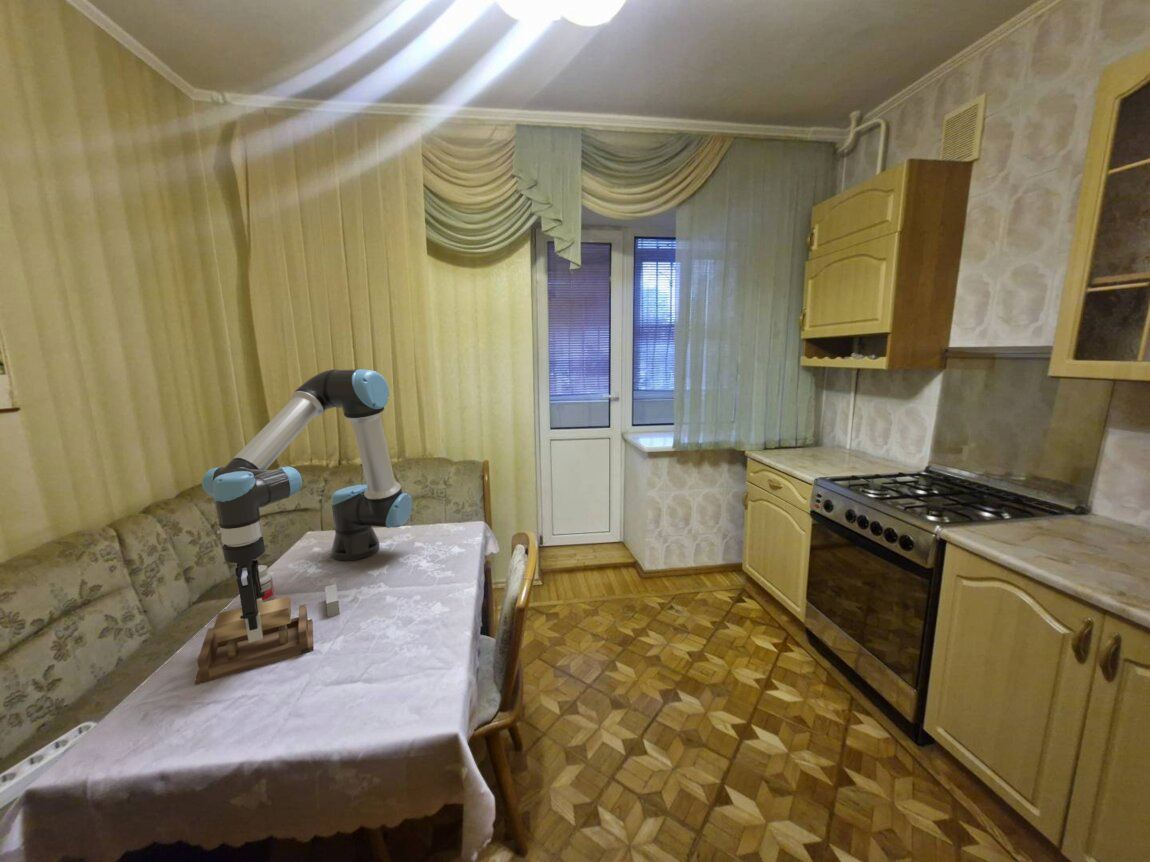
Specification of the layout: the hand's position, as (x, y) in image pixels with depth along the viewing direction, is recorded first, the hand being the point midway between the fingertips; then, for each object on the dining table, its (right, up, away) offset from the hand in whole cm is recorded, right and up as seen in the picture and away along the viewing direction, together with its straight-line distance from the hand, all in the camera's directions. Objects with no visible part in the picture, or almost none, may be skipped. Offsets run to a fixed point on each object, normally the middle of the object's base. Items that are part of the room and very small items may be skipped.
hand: (257, 632), depth 108 cm
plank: (0, +2, 0) cm, 2 cm away
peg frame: (0, -5, +1) cm, 5 cm away
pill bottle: (-12, -2, +20) cm, 24 cm away
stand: (+8, -1, +19) cm, 21 cm away
